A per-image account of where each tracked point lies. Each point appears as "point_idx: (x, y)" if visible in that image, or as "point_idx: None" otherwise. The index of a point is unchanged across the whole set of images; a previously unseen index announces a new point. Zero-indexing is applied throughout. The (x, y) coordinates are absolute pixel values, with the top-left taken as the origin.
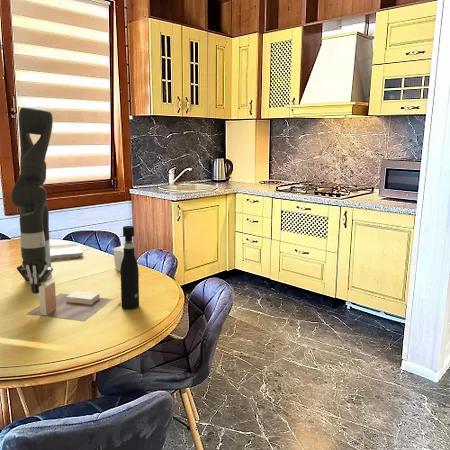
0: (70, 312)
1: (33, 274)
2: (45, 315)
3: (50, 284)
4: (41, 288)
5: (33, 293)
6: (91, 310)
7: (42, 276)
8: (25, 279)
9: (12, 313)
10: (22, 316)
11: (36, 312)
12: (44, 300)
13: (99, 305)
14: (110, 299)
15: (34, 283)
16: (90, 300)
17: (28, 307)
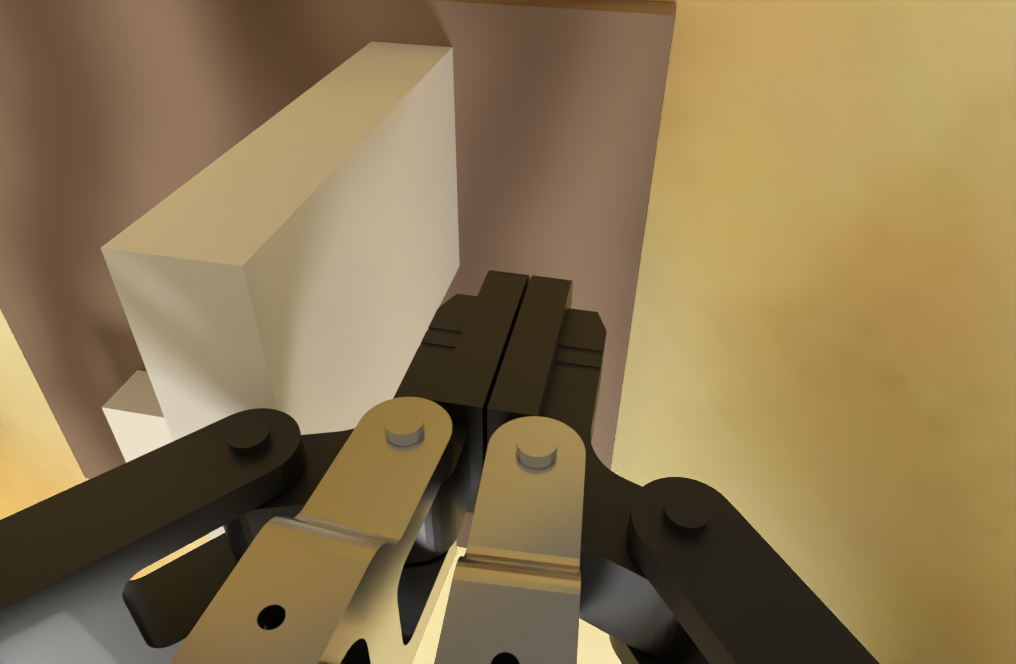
0: (164, 172)
1: (325, 625)
2: (371, 30)
3: (181, 430)
4: (194, 239)
5: (557, 278)
6: (26, 250)
7: (86, 544)
8: (721, 524)
9: (960, 101)
10: (750, 29)
11: (553, 104)
12: (279, 121)
13: (63, 359)
14: (93, 470)
15: (491, 436)
16: (117, 399)
17: (806, 303)
